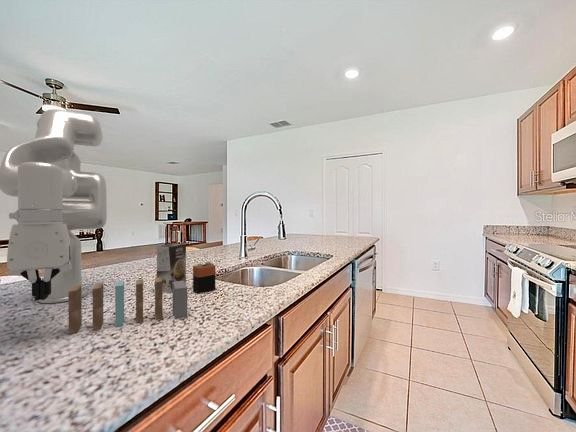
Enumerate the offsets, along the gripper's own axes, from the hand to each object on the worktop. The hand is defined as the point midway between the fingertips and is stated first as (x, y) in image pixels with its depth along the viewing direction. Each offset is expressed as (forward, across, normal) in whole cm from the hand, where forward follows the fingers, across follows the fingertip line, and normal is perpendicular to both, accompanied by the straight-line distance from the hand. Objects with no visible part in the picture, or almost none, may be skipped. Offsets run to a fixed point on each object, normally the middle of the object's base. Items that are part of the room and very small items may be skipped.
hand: (41, 298), depth 61 cm
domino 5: (+9, +24, +1) cm, 25 cm away
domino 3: (+9, +15, +1) cm, 17 cm away
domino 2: (+8, +10, +1) cm, 13 cm away
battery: (+8, +40, +19) cm, 45 cm away
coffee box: (+8, +30, +28) cm, 41 cm away
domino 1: (+8, +6, +1) cm, 10 cm away
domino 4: (+9, +19, +1) cm, 21 cm away
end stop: (+9, +29, +1) cm, 30 cm away
